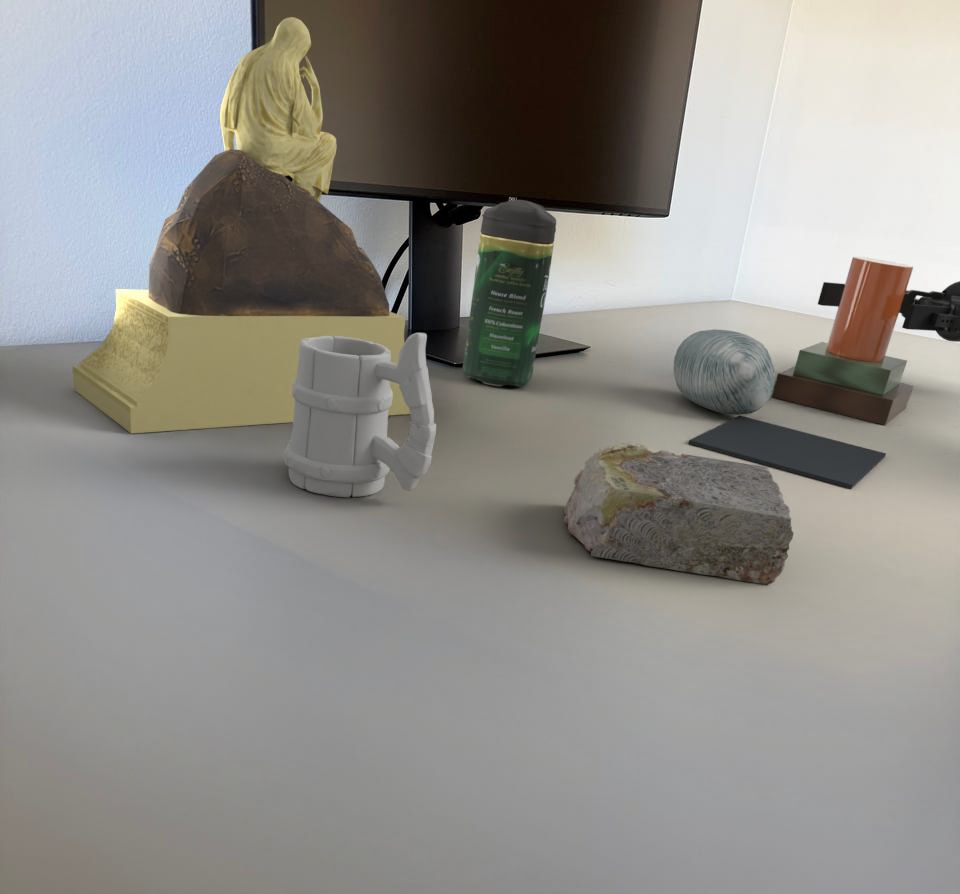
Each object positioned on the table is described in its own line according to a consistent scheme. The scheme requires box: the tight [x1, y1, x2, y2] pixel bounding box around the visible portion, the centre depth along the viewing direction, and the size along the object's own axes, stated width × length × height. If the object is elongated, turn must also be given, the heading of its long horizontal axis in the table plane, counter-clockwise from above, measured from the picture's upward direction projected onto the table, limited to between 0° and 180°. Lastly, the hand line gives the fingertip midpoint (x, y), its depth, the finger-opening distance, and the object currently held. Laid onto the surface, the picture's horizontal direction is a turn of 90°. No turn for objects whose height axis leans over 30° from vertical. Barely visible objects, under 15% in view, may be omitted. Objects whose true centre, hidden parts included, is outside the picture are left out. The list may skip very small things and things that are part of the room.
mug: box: [284, 332, 437, 498], centre depth 69 cm, size 8×12×12 cm, turn 59°
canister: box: [826, 256, 914, 362], centre depth 118 cm, size 7×7×11 cm
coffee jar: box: [462, 199, 557, 388], centre depth 105 cm, size 10×8×19 cm
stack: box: [771, 341, 914, 426], centre depth 122 cm, size 14×14×6 cm
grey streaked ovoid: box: [673, 328, 775, 416], centre depth 109 cm, size 14×10×10 cm
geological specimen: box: [563, 442, 794, 585], centre depth 69 cm, size 11×6×15 cm
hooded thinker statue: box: [72, 16, 411, 434], centre depth 81 cm, size 28×13×30 cm, turn 129°
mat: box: [688, 415, 887, 490], centre depth 98 cm, size 16×16×1 cm
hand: (863, 304), depth 118 cm, fingers open, 13 cm apart
